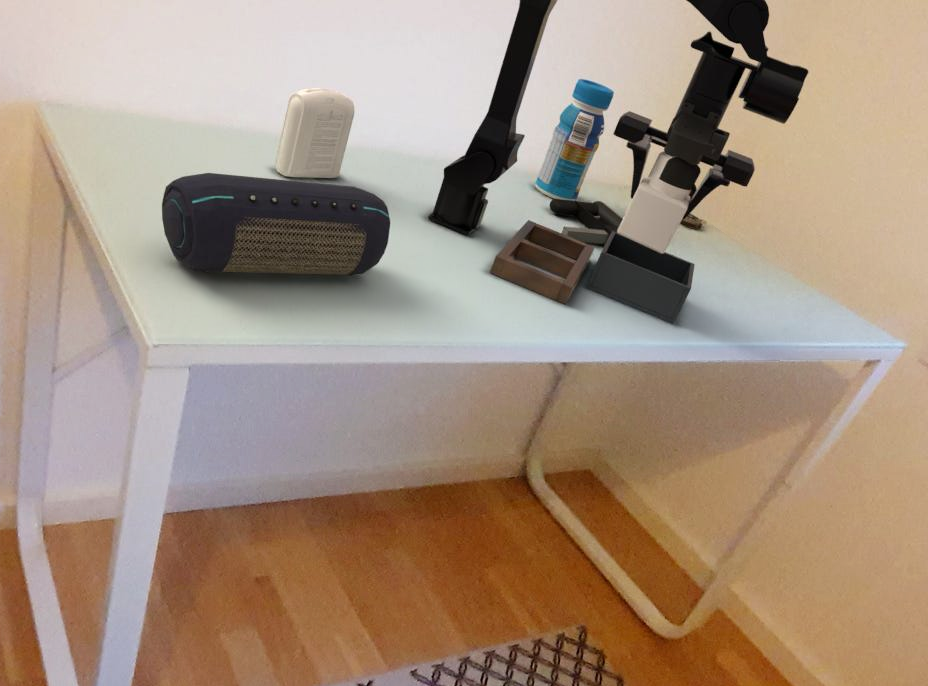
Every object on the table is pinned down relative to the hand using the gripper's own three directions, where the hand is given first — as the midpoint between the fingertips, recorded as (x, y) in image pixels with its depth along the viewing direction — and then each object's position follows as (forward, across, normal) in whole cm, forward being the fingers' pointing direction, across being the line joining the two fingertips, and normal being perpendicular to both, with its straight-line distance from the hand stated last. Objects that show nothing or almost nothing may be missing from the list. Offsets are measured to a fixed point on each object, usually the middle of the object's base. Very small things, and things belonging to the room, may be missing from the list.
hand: (657, 208), depth 117 cm
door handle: (+13, -8, +20) cm, 25 cm away
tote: (+13, +2, +2) cm, 13 cm away
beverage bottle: (+13, -18, +36) cm, 43 cm away
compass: (+13, +7, +54) cm, 57 cm away
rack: (+13, -12, -4) cm, 18 cm away
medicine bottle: (+5, 0, 0) cm, 5 cm away
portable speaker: (+13, -36, -38) cm, 55 cm away
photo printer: (+13, -48, -6) cm, 51 cm away
